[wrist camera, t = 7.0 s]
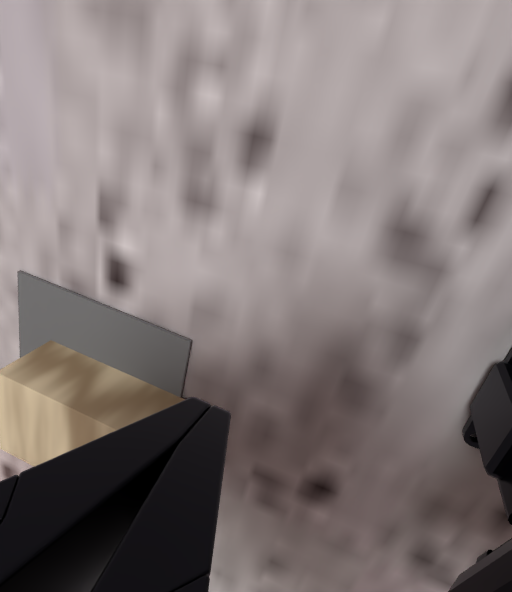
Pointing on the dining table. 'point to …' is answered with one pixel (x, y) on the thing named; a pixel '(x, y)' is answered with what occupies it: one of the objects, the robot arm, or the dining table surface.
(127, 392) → the oak block
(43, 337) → the placemat
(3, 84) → the dining table surface
